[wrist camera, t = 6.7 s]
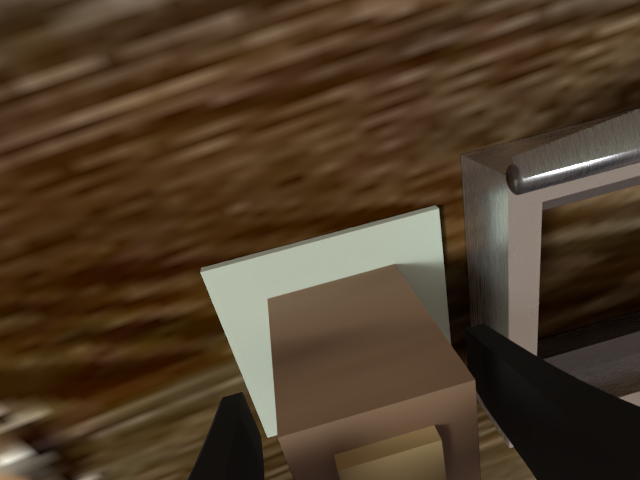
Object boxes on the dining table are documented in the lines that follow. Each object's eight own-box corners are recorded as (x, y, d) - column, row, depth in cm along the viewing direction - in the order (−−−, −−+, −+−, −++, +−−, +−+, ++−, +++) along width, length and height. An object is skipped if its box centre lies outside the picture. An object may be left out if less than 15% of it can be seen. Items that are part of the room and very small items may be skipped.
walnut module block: (409, 360, 16) (490, 515, 10) (298, 392, 16) (323, 566, 10) (394, 263, 14) (484, 393, 8) (267, 298, 14) (279, 454, 8)
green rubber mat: (451, 377, 17) (454, 382, 17) (267, 431, 17) (267, 437, 16) (435, 205, 13) (439, 208, 13) (201, 267, 13) (200, 272, 13)
